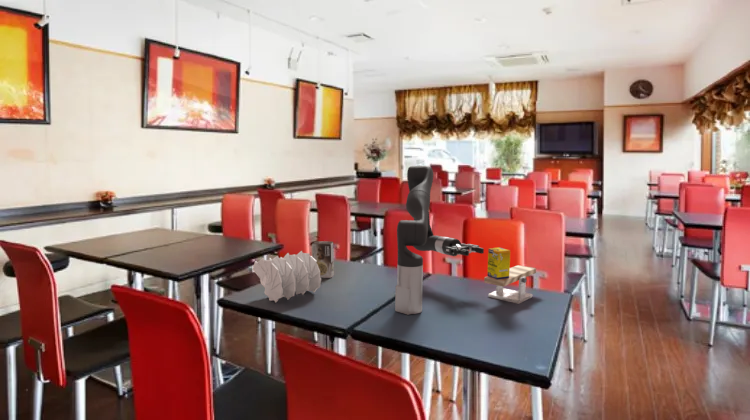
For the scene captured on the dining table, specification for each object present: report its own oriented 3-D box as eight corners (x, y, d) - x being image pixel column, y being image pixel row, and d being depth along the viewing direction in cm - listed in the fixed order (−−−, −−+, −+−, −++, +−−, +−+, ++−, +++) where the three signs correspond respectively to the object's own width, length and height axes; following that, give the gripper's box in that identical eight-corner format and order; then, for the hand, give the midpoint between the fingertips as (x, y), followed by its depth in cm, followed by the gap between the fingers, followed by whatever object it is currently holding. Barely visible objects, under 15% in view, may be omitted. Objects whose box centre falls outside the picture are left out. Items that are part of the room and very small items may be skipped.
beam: (503, 286, 174) (503, 280, 174) (484, 282, 179) (484, 277, 179) (535, 272, 194) (536, 267, 194) (517, 269, 200) (518, 264, 200)
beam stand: (518, 303, 179) (519, 281, 178) (488, 296, 188) (489, 275, 187) (532, 297, 188) (533, 275, 187) (502, 290, 197) (503, 269, 196)
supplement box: (486, 276, 181) (487, 248, 179) (499, 274, 183) (500, 247, 182) (497, 279, 175) (498, 251, 174) (509, 278, 178) (510, 249, 176)
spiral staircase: (320, 302, 193) (269, 313, 175) (297, 277, 203) (246, 285, 185) (334, 266, 187) (282, 274, 168) (309, 242, 197) (258, 247, 179)
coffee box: (334, 274, 222) (334, 241, 220) (331, 278, 215) (331, 243, 213) (315, 274, 223) (315, 240, 221) (312, 277, 216) (311, 243, 214)
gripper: (435, 238, 197) (463, 244, 184) (459, 236, 205) (488, 241, 192) (435, 256, 198) (463, 263, 184) (459, 252, 206) (487, 259, 193)
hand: (475, 252), depth 188 cm, fingers open, 8 cm apart
